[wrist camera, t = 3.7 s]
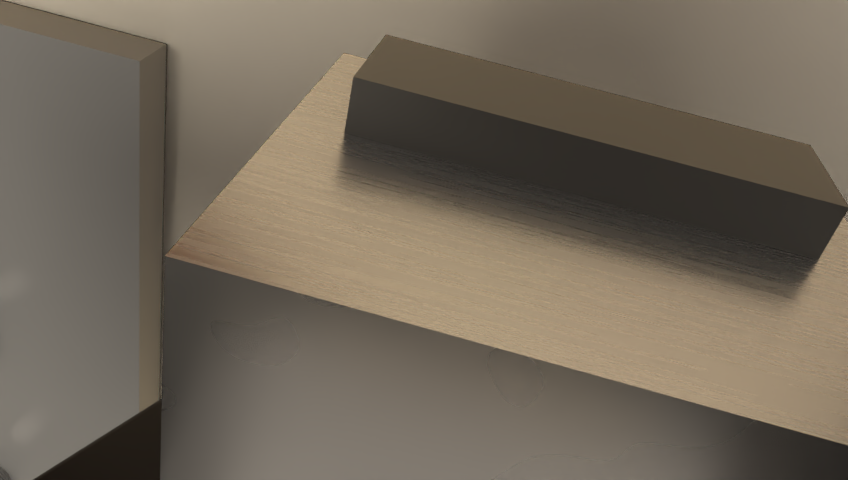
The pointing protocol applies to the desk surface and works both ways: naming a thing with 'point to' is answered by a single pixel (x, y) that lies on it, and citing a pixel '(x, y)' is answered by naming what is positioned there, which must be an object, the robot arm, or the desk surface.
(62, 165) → the pin tray
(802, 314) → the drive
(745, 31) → the desk surface
